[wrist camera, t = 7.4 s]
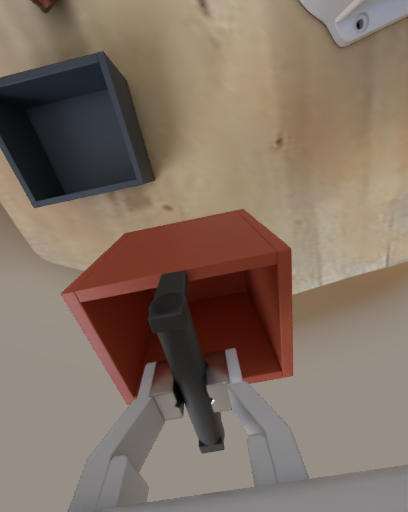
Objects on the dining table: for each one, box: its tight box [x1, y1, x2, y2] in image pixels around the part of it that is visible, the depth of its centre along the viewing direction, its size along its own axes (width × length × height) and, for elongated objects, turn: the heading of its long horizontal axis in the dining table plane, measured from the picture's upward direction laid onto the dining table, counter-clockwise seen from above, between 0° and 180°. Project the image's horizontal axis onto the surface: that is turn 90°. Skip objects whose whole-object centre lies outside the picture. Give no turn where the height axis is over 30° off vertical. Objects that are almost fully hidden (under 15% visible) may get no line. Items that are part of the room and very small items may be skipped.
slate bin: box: [0, 51, 155, 208], centre depth 24 cm, size 14×12×7 cm
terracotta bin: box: [61, 209, 293, 453], centre depth 14 cm, size 11×9×12 cm
